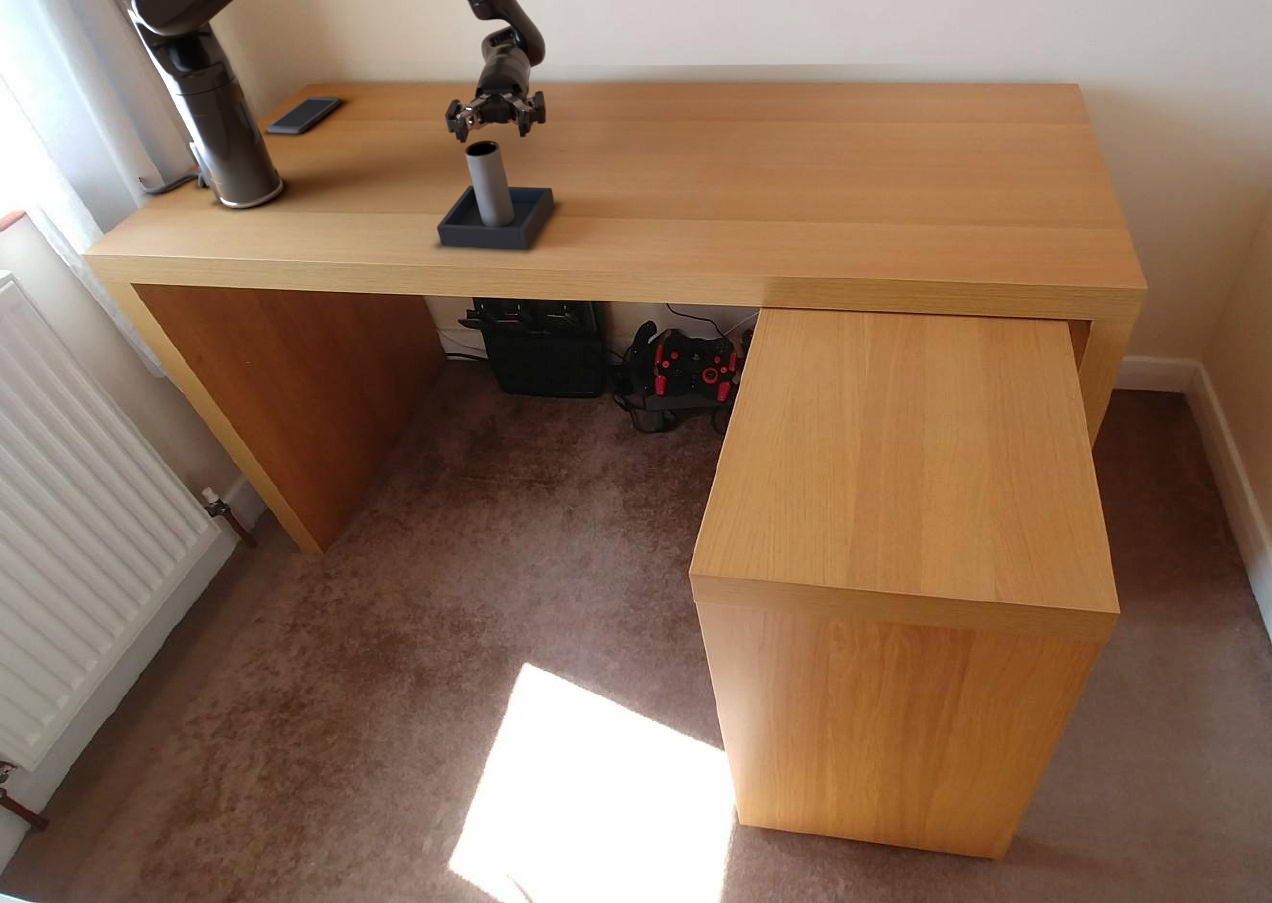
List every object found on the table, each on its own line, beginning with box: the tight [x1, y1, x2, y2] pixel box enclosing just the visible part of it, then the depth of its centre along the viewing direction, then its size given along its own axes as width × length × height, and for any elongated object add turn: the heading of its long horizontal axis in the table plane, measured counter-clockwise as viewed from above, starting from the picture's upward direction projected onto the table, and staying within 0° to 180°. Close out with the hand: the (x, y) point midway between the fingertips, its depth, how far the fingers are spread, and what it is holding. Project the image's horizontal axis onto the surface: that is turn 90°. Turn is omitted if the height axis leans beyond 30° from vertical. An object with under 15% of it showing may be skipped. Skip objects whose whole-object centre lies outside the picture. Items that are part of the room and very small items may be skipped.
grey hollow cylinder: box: [464, 140, 515, 227], centre depth 111 cm, size 4×4×10 cm
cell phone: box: [266, 96, 342, 135], centre depth 150 cm, size 7×14×1 cm, turn 161°
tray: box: [436, 185, 556, 251], centre depth 114 cm, size 13×12×3 cm
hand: (491, 133), depth 115 cm, fingers open, 8 cm apart
